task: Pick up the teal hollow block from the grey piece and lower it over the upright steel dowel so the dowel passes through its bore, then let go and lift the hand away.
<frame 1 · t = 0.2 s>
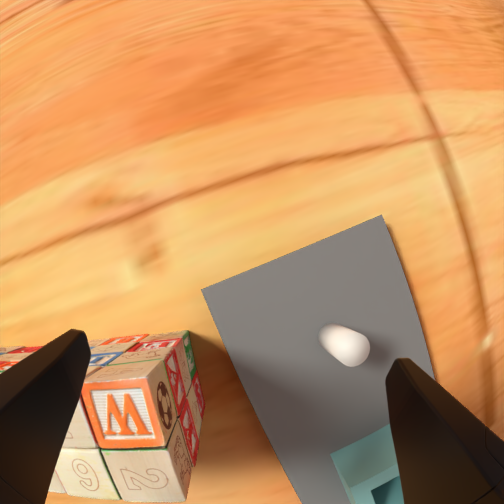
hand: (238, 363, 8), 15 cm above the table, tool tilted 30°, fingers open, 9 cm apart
teal hollow block: (376, 462, 21), point 1 cm above the table, touching grey piece
stack of blocks: (75, 378, 22), on the table
grey piece: (348, 393, 23), on the table
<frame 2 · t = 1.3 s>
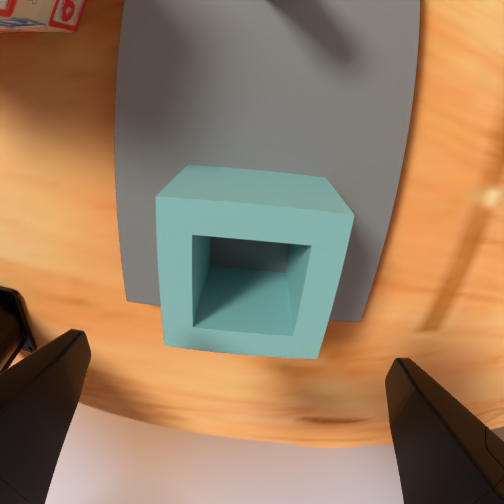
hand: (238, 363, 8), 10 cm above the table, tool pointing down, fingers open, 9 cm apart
teal hollow block: (251, 234, 16), point 1 cm above the table, touching grey piece
grey piece: (264, 90, 14), on the table
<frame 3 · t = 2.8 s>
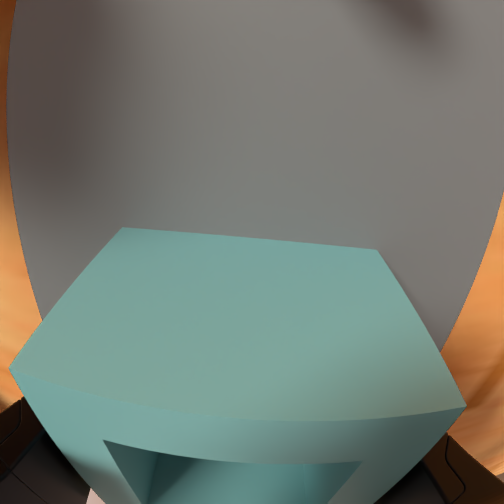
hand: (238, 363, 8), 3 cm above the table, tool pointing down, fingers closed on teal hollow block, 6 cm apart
teal hollow block: (240, 339, 9), point 2 cm above the table, touching gripper, grey piece
grey piece: (264, 81, 8), on the table
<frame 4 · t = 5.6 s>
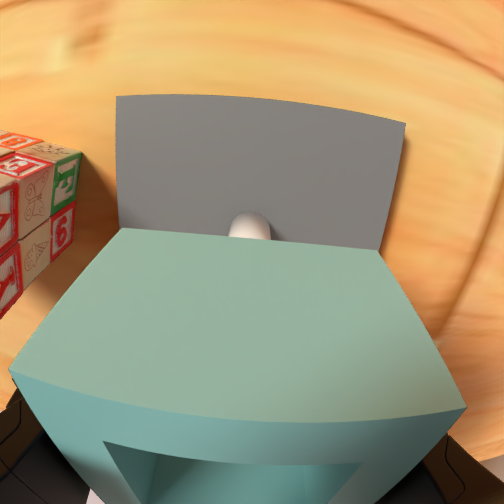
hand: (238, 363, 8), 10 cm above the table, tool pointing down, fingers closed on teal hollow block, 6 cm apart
teal hollow block: (240, 339, 9), point 9 cm above the table, touching gripper
grey piece: (243, 302, 20), on the table
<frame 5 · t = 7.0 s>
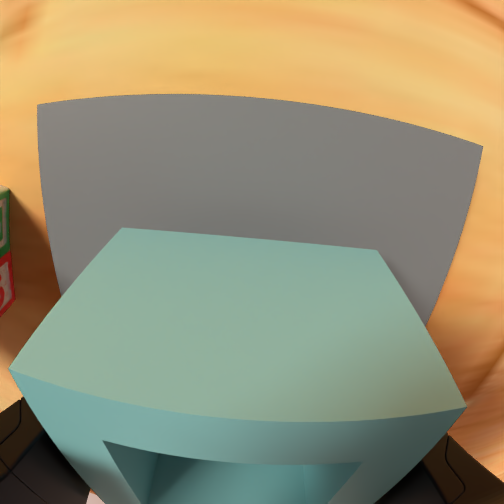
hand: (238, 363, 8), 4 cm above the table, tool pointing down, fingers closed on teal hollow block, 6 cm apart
teal hollow block: (240, 339, 9), point 3 cm above the table, touching gripper
grey piece: (236, 380, 14), on the table
when the fingers open (4 cm above the table, at t = 8.2 s): teal hollow block drops 1 cm, resting on grey piece.
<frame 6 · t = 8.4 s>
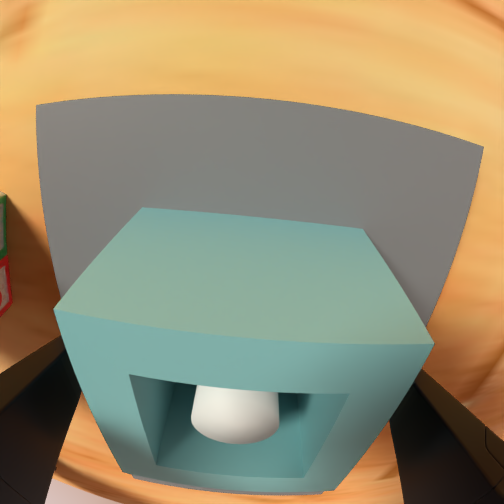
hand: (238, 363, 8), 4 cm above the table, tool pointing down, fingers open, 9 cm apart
teal hollow block: (243, 309, 11), point 1 cm above the table, touching grey piece
grey piece: (236, 381, 14), on the table
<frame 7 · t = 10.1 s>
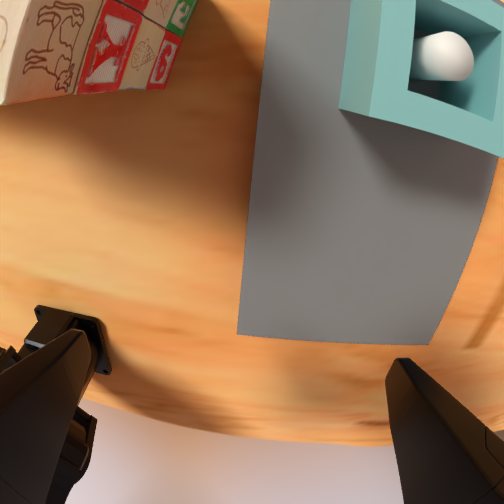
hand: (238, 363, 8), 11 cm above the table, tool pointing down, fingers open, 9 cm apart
teal hollow block: (408, 62, 12), point 1 cm above the table, touching grey piece
stack of blocks: (40, 19, 13), on the table
grey piece: (383, 157, 16), on the table
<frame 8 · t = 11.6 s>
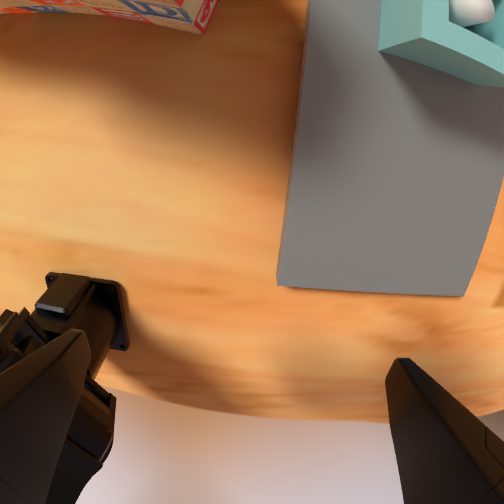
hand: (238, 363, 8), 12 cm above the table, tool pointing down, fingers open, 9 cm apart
teal hollow block: (434, 17, 12), point 1 cm above the table, touching grey piece
grey piece: (415, 102, 16), on the table
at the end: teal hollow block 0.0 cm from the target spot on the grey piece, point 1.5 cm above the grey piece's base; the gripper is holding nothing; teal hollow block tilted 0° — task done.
